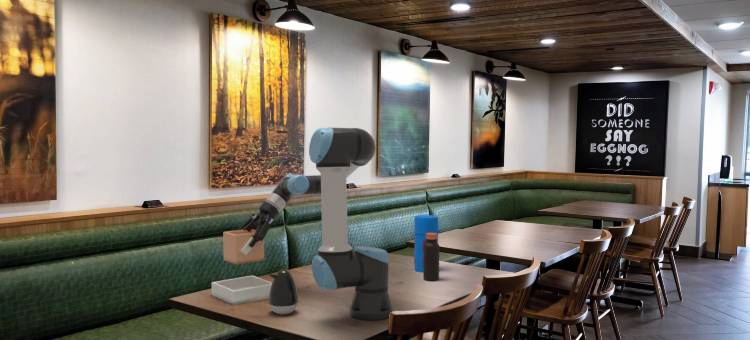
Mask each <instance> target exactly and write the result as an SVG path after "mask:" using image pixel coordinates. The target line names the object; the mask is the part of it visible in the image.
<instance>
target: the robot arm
mask: <svg viewBox="0 0 750 340" xmlns="http://www.w3.org/2000/svg"><path fill="white" fill-rule="evenodd" d="M375 153H376V142H375V140H374V138H373V136H372V135H371V134H370V133H369V132H368V131H366V130H365V129H362V128H359V127H321V128H318V129H316V130H315V131H314V132H313V134H312V136H311V138H310V142H309V148H308V155H309V159H310V161H311V163H314V164H315V168H316V171H318V172H319V173H320V174H319V175H314V174H313V175H303V174H294V173H287V174H286V175H285V176H284V177H282V179H281V180H280V182H279V183H278V184H277V185H276V187H275V188H274V189H273V191H271V193H270V194H269V195H268V197H266V199H265V201H263V203H262V204H261V205H260V206H259V208H258V210H259V213H257V214H255V213H252V214H251V216H250V217H248V219H247V220H245V222H244V223H243V224H241V225H240V227H239V228H238V229H237V230H247V231H248V232H250V231H251V230H252V229H254V230H256V232H255V234H254V235H253V236H252V237H253V238H254V239H253V238H252V237H251V239H250V240H249V241H248V242H247V243H246V245H245V246H244V247H243V248H242V250H241V252H242V253H244V254H245V255H247V254H248V253H249V251H250V250H251V249H252V248H253V246H254V245H255V244H256V243H257V242H259V241H262V240H263V239H264V240H265V237H266V235H267V234H268V232H269V230H270V229H271V227H272V225H273V224H274V223H275V221H274V220H276V218H277V216H278V215H280V212H281V211H282V210H283V209H285V206H286V205H287V204H288V203H289V201H290V200H291V199H292V198H293V197H295V196H308V195H320V196H321V197H320V198H321V199H320V200H321V202H320V203H321V204H320V205H321V238H322V240H321V243H322V244H321V245H320V247H318V249H317V255H315V256H314V257H312V260H311V272H312V276H313V278H314V281H315V283H316V285H317V286H318V288H320V289H321V290H324V291H330V290H331V291H332V290H333V291H336V290H339V289H346V288H347V289H348V288H353V287H354V294H353V297H352V300H351V303H350V305H349V315H350V317H352V318H353V317H354V319H355V318H356V319H358V320H359V319H360V320H366V321H367V320H368V321H375V320H377V321H378V320H384V319H388V318H390V317H389V314H390V312H392V311H393V312H394V306H393V303H392V299H391V296H390V294H389V293H390V292H389V264H390V262H389V252H388V251H387V250H385V249H382V248H380V247H379V248H378V247H373V246H365V245H364V246H363V245H361V246H360V245H359V246H356V247H355V248H354V251H353V247H352V246H351V245H350V244H349V241H348V240H349V239H348V236H349V235H348V198H347V197H348V193H347V190H348V189H347V178H348V177H350V175H352V174H353V173H354V172H355V171H356V170H358V168H360V167H364V166H366V165H367V164H368V163H369V162H370V161H372V160H373V158H374V155H375ZM255 228H256V229H255ZM261 236H262V237H261Z"/></svg>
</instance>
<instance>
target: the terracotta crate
mask: <svg viewBox="0 0 750 340" xmlns="http://www.w3.org/2000/svg"><path fill="white" fill-rule="evenodd" d="M255 232H256V229H255V228H254V229H252V230H251V231H250V232H248V231H247V230H238V229H237V230H230V231H223V232H222V234H223V235H222V237H223V240H222V242H223V243H222V245H223V249H222V251H223V252H222V253H223V261H225V262H228V263H230V264H233V265H242V264H249V263H255V262H262V261H265V238H264V239H263V240H262V241H259V242H257V243H256V244H255V245H254V246H253V248H252V249H251V250H250V251H249V253H248V254H247V255H245V254H244V253H242V252H241V250H242V248H243V247H244V246H245V245H246V243H247V242H248V241H249V240H250V239H251V237H252V236H253V235H254V234H255ZM261 237H262V236H261ZM252 238H253V237H252ZM253 239H254V238H253Z"/></svg>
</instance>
